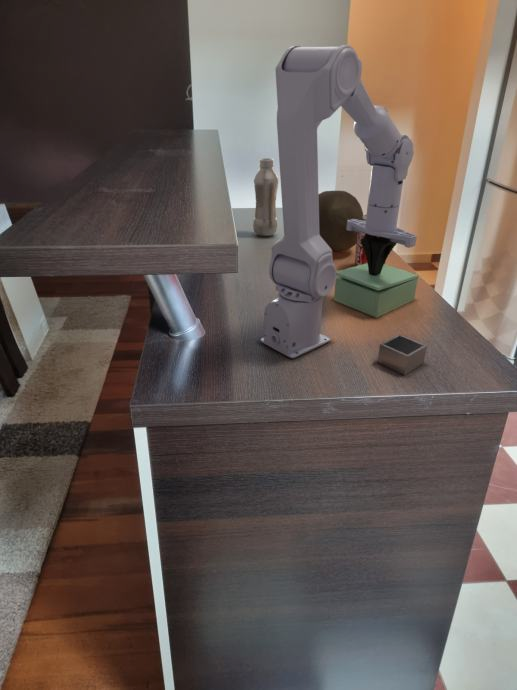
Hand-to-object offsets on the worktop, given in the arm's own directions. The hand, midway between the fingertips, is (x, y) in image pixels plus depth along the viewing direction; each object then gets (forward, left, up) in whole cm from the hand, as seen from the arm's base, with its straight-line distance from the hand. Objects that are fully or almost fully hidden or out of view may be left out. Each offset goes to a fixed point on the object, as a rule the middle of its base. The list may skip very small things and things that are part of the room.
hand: (374, 273), depth 101 cm
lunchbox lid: (+1, 0, -1) cm, 1 cm away
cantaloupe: (+18, +26, -6) cm, 32 cm away
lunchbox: (+1, 0, -6) cm, 6 cm away
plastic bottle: (+14, +47, -6) cm, 49 cm away
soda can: (+15, +12, -6) cm, 20 cm away
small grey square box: (-16, -18, -6) cm, 25 cm away
